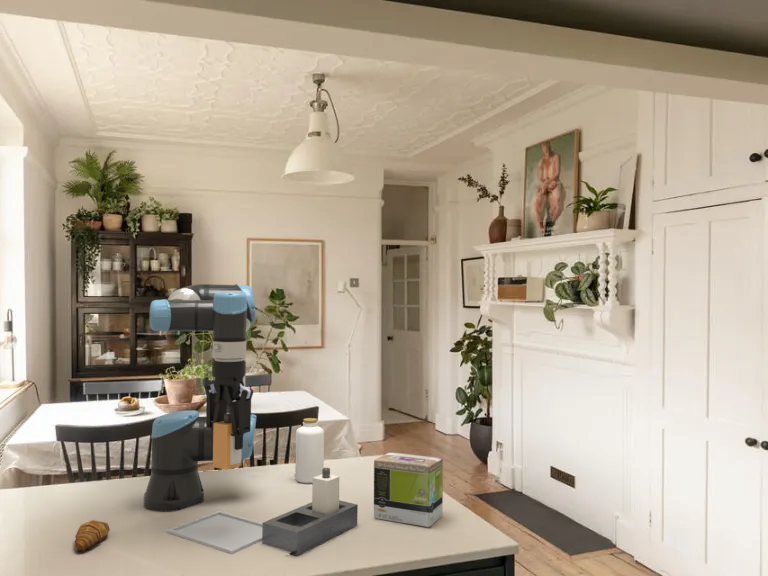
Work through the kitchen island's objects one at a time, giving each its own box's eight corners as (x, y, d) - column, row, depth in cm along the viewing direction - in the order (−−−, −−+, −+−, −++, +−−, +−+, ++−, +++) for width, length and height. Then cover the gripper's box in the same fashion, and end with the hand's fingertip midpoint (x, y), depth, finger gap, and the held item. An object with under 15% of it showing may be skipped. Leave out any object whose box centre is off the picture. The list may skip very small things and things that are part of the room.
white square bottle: (311, 520, 151) (312, 469, 151) (323, 515, 155) (324, 465, 155) (327, 524, 149) (327, 472, 149) (338, 518, 152) (339, 468, 152)
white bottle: (318, 485, 185) (319, 422, 186) (291, 483, 187) (292, 421, 187) (326, 477, 194) (327, 417, 194) (300, 475, 195) (301, 416, 195)
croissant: (89, 531, 148) (89, 509, 148) (119, 531, 148) (119, 509, 148) (62, 555, 135) (62, 531, 135) (95, 555, 135) (95, 531, 135)
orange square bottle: (212, 466, 146) (213, 414, 147) (227, 462, 150) (228, 411, 150) (226, 470, 144) (227, 416, 144) (241, 465, 148) (242, 413, 148)
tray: (166, 535, 146) (166, 529, 146) (219, 515, 160) (219, 510, 160) (231, 556, 135) (231, 551, 135) (283, 533, 148) (283, 528, 148)
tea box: (443, 516, 162) (444, 457, 162) (429, 529, 152) (429, 466, 153) (388, 506, 168) (389, 450, 168) (372, 518, 159) (373, 458, 159)
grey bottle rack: (262, 545, 141) (262, 522, 141) (324, 517, 159) (324, 496, 159) (296, 556, 135) (297, 532, 136) (357, 525, 154) (357, 504, 154)
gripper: (190, 358, 149) (188, 459, 149) (244, 363, 139) (242, 471, 139) (215, 355, 155) (213, 452, 155) (268, 361, 146) (267, 464, 145)
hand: (227, 461), depth 147 cm, fingers closed on orange square bottle, 4 cm apart
